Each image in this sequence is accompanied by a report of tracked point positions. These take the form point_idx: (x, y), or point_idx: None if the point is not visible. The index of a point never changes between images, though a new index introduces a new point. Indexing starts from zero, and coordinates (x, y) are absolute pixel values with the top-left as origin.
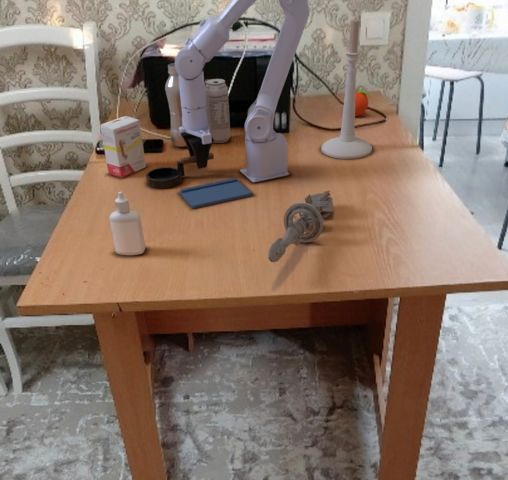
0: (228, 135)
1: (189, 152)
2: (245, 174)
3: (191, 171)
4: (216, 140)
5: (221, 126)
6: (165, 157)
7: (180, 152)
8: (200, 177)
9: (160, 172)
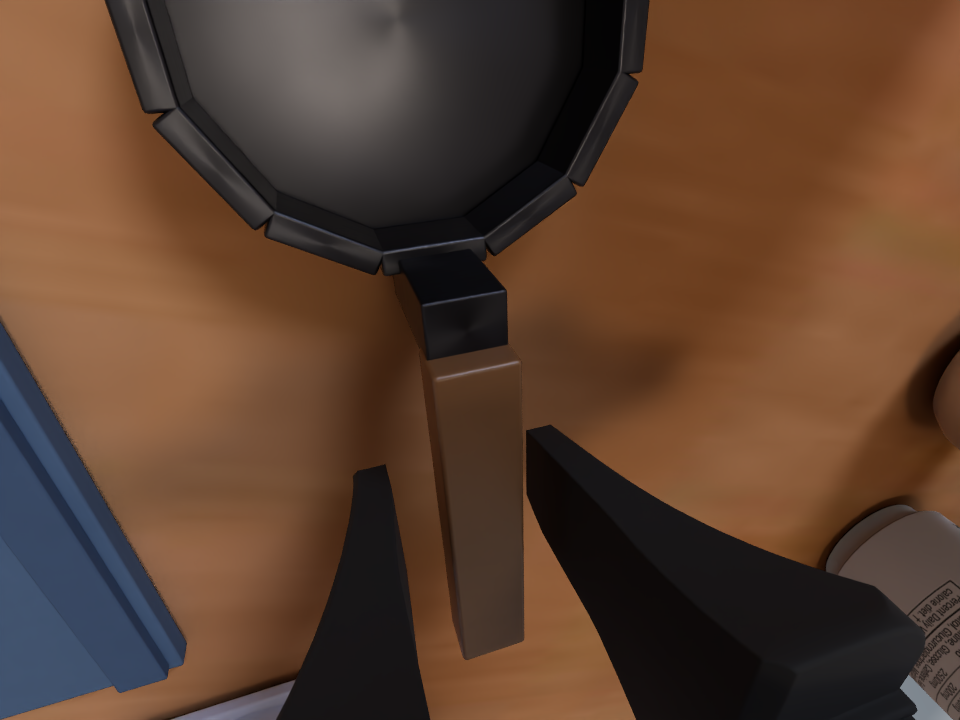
0: None
1: (601, 486)
2: (268, 700)
3: (541, 357)
4: (859, 545)
5: None
6: (926, 195)
7: (908, 325)
8: (375, 414)
9: (595, 21)
